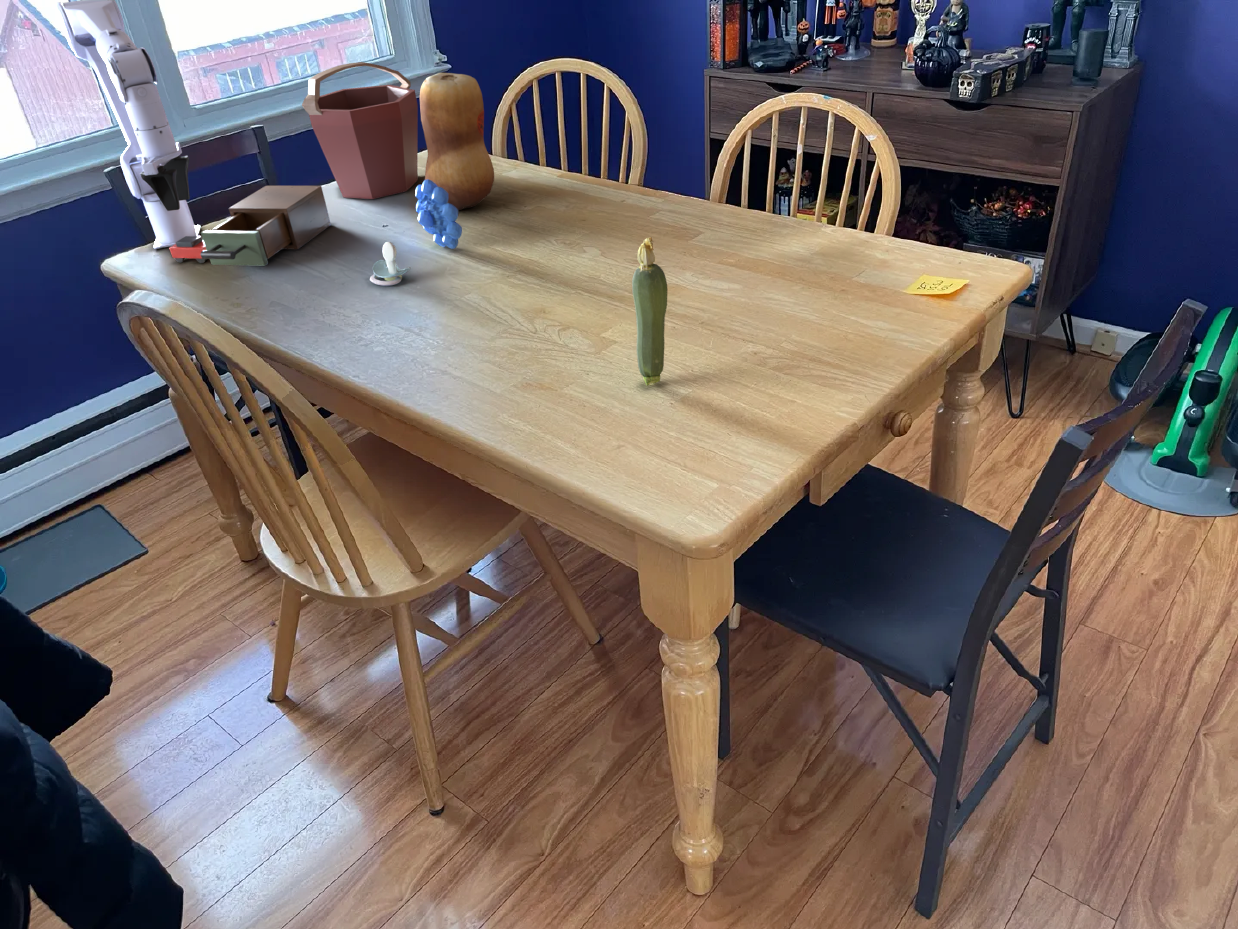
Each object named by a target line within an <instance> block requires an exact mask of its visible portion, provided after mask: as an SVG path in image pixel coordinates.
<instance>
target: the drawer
mask: <svg viewBox="0 0 1238 929" xmlns="http://www.w3.org/2000/svg"><path fill="white" fill-rule="evenodd" d="M200 234H201V235H200V236H201V237H202V240H203V241H204V244H205V247H206V250H207V251H201V257H202V258H203V259H207V260H209V261H210V264H211V265H212V266H251V267H252V266H254V267H259V266H260V267H265V266H267V265H268V264H269V261H268V260H269V259H270V258H271V257H273V256H274V255H276V254H277V253H279V252H280V251H281V250H284V249H283V248H284V247H285V246H287V245H288V244H289V243H291V242H292V240H291V236H290V232H289V229H288V225H287V222H286V218H285V215H284V213H249V212H239V213H238V214H236V215H234V216H233V217H231V216H230V217H229V218H227V219H226V220H225V221H223V222H222V223H220V224H218V225H216V226H215V227H213V228H212V230H211V229H210V230H208V229H205V230H203V231H201V232H200Z"/></svg>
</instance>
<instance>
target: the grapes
mask: <svg viewBox="0 0 1238 929" xmlns="http://www.w3.org/2000/svg"><path fill="white" fill-rule="evenodd" d="M414 191H415V194H414V195H415V198H416V199H417V202H416V203H415V211H416V212H417V214H418V216H417V222H418V223H419V225H420V226H422V227H423V230H424V231H425V232H426V233H428V234H429V235H433V242H434V243H435V244H436V245H438V246H439V247H442V248H445V247H447V248H449V249H451V250H454V249H456V248H457V247H458V246H459V239H460V238H461V237H462V234H463V226H461V224H460V223H458V222H457V220H458V218H459V210H458V209H457V208H456V207H455V206H453V205H452V204H449V203H447V202H448V198H449V197H448V193H447V191H446V190H444V189H443V188H441V187H438V186H437V185H436V184H435V183H434V182H433V181H431V180H428V179H427V180H425V179H424V180H423V182H422V184H418V185H417V186H416V187H415V190H414Z"/></svg>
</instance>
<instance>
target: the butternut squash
mask: <svg viewBox="0 0 1238 929" xmlns="http://www.w3.org/2000/svg"><path fill="white" fill-rule="evenodd" d="M419 108H420V122H421V125H422V129H423V130H422V131H423V134H424V135H423V136H424V141H425V144H426V145H425V146H426V150H427V156H426V163H425V169H424V170H425V171H424V180H427V179H428V180H431V181H433V182H434V183H435V184H436V185H437V186H438V187H441V188H443V189H444V190H446V191H447V193H448V197H449V198H448V202H447V203H449V204H452V205H453V206H455V207H456V208H457V209H458V211H461V210H463V209H471V208H473V207H476V206H478V205H479V204H480V203H481V202H482V201H483V200H484V199H486V198H487V197H488V196H489V195H490V194H491V192H492V189H493V186H494V183H495V169H494V165H493V162H492V159H491V157H490V154H489V151H487V147H486V144H485V139H484V135H485V134H484V132H485V130H484V129H485V108H484V99H483V93H482V90H481V88H480V85H479V83H478V81H477V79H476V78H475V77H472V76H471V75H468V74H464V73H453V72H437V73H436V74H433V75H430V76H427V77H426V78H425V79H424V80H423V82H422V84H421V86H420V90H419Z"/></svg>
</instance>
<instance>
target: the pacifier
mask: <svg viewBox="0 0 1238 929" xmlns="http://www.w3.org/2000/svg"><path fill="white" fill-rule="evenodd" d="M381 251H382V257H383V259H380V260H377V261H375V262H374V263H373V265H372V271H373V273H374V274H372V275H371V276H369V281H370V282H371V283H372V284H375V285H378V286H393V285H397V284H399V283H400V282H401V281H402V280H403V275H404V274H406V273H408V272H409V271H410V270H411V269H412V268H411V266H408V267H406V268H401V269H400V267H399V266H398V265H397V262H396V258H397V253H398V251H397V247H396V246H395V244H394V243H393V242H391V241H386V242H384V243H383V245H382V250H381ZM377 278H382V279H384V280H379V279H377Z"/></svg>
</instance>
